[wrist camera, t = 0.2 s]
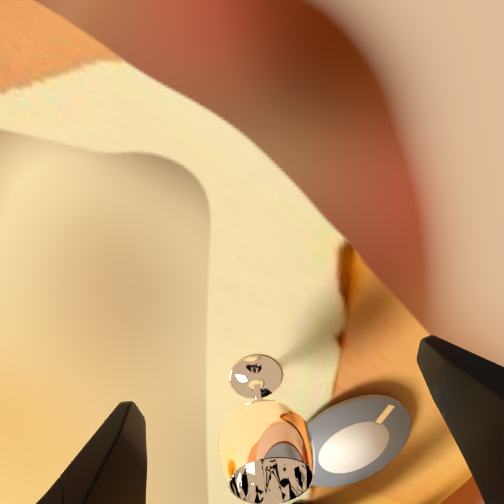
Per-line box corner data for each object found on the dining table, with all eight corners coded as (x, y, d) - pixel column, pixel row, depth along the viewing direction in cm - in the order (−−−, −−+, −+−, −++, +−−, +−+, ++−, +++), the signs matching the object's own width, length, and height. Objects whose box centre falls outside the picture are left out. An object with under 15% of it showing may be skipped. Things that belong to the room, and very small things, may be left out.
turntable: (357, 487, 28) (360, 492, 27) (265, 469, 26) (266, 475, 25) (428, 410, 26) (432, 414, 25) (341, 377, 25) (344, 382, 24)
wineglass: (297, 354, 25) (340, 452, 13) (278, 408, 26) (302, 510, 14) (230, 341, 24) (230, 442, 13) (215, 397, 25) (209, 503, 13)
